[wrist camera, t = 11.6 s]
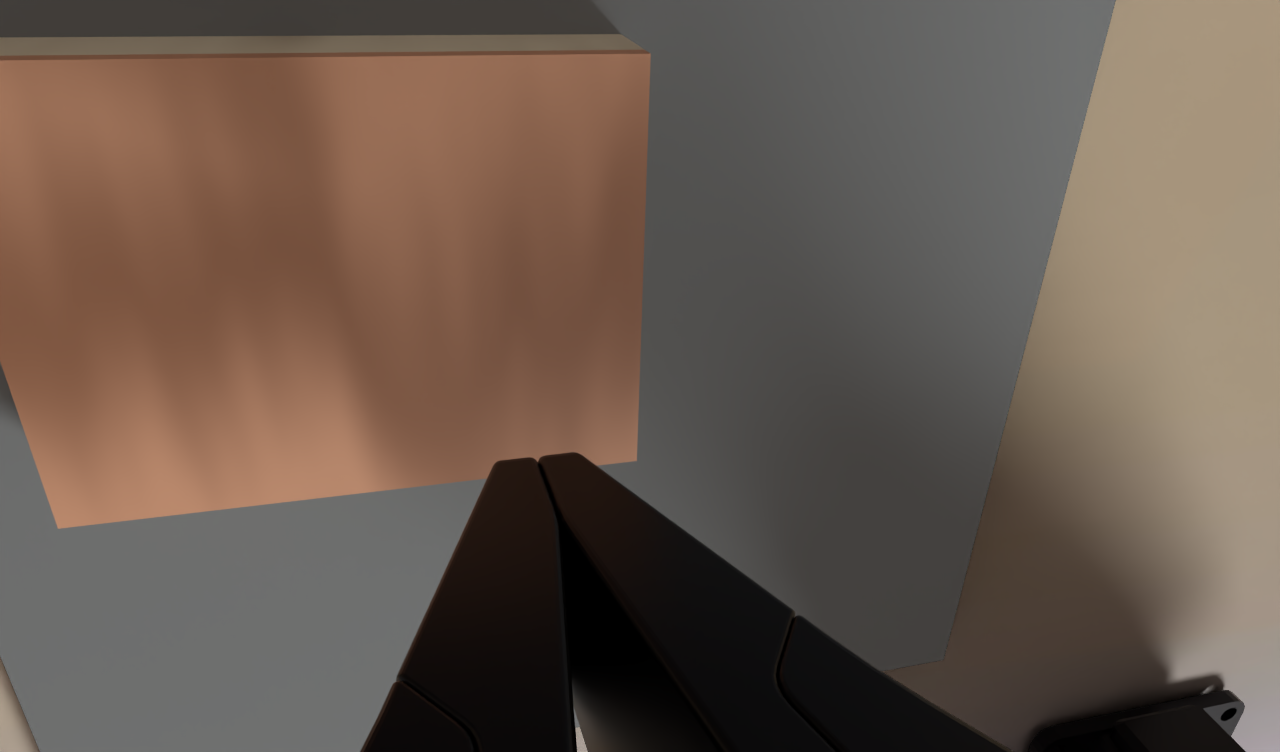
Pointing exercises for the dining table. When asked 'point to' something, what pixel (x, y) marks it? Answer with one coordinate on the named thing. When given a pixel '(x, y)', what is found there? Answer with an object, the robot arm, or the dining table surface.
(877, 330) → the mat
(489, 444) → the tile
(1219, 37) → the dining table surface
